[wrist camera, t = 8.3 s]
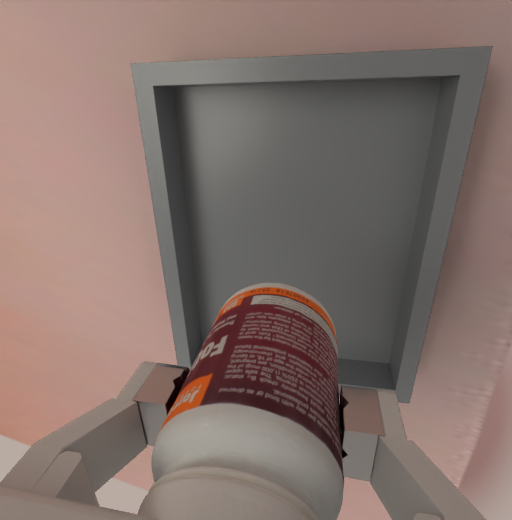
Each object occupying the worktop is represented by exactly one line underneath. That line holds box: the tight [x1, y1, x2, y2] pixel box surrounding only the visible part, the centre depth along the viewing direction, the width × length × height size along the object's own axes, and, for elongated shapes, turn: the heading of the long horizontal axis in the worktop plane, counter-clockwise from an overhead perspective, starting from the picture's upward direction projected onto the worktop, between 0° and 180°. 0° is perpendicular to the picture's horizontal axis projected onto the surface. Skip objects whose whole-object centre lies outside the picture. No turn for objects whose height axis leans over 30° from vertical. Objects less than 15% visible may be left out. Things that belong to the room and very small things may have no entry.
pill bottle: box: [138, 283, 344, 520], centre depth 10 cm, size 5×5×8 cm
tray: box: [131, 46, 493, 403], centre depth 21 cm, size 20×16×4 cm
